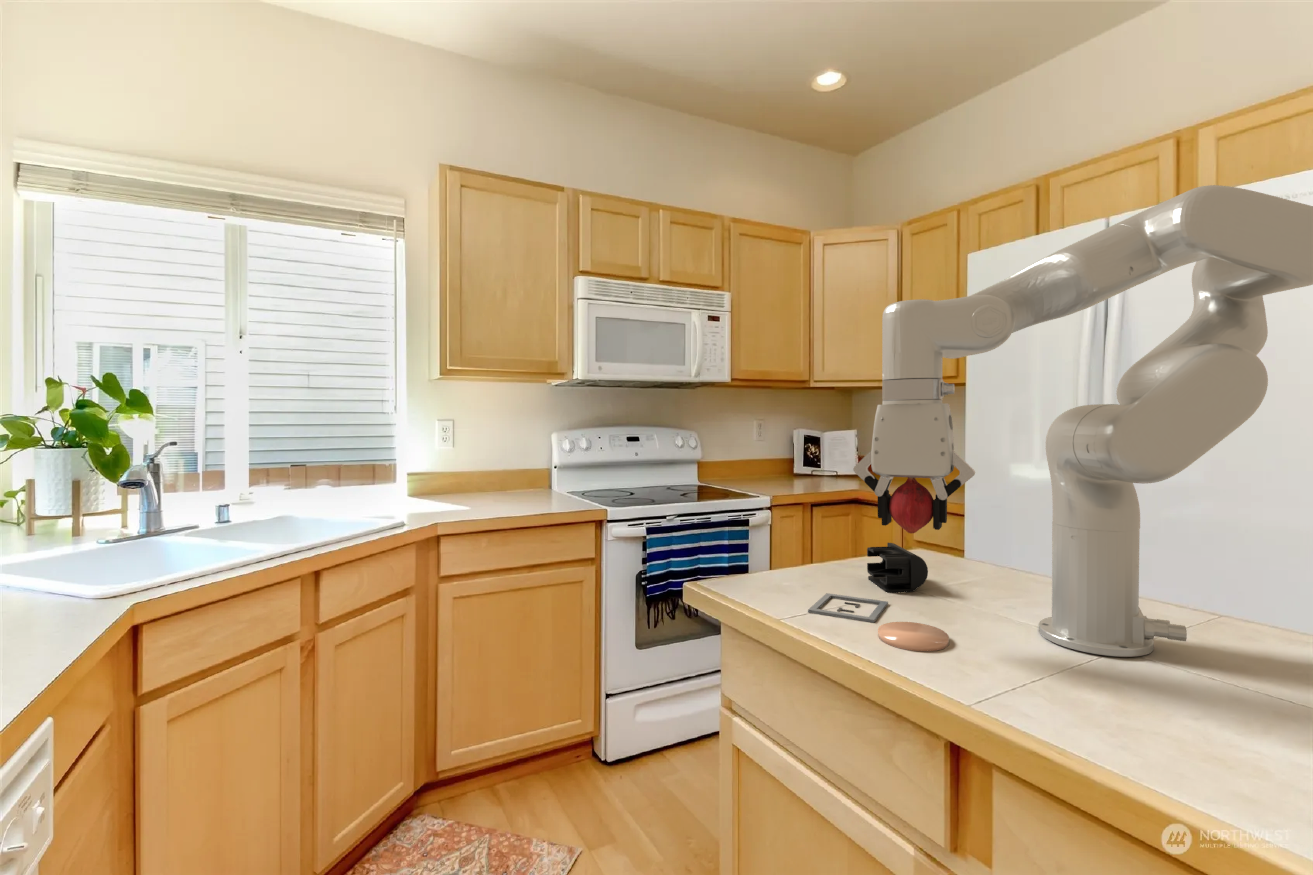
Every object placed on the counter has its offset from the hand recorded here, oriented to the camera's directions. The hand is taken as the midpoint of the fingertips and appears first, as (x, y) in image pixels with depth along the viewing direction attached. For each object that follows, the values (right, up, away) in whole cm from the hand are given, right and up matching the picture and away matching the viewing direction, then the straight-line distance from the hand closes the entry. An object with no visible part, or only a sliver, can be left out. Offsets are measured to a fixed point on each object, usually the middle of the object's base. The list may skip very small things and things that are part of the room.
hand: (911, 524), depth 84 cm
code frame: (-4, -15, +14) cm, 21 cm away
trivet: (0, -16, +1) cm, 16 cm away
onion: (0, -1, 0) cm, 1 cm away
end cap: (+8, -15, +26) cm, 31 cm away
